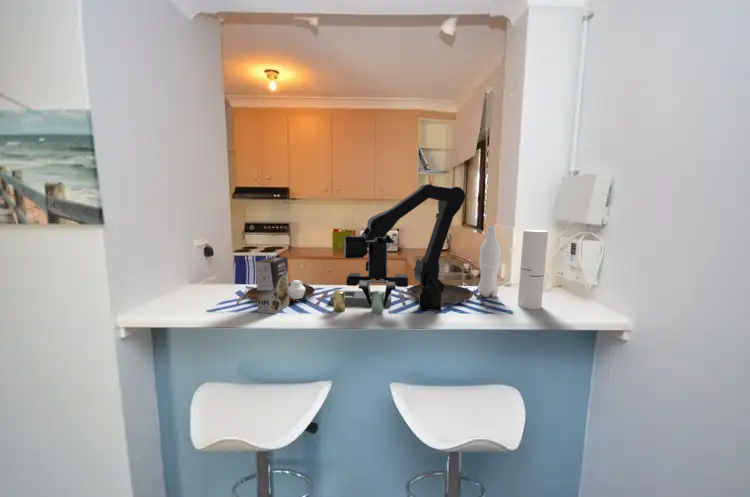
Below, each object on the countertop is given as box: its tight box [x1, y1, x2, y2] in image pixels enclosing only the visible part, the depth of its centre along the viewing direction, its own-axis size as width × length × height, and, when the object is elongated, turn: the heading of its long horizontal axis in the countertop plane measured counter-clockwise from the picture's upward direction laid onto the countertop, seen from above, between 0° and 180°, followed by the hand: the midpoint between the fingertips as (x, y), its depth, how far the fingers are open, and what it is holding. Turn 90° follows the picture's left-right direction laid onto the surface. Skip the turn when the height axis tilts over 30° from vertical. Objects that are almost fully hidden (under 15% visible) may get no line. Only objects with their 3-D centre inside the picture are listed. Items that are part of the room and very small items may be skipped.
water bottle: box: [477, 226, 502, 298], centre depth 115 cm, size 7×7×25 cm
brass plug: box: [333, 289, 346, 313], centre depth 101 cm, size 4×4×6 cm
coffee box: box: [255, 256, 290, 315], centre depth 101 cm, size 9×6×16 cm
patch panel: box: [329, 290, 392, 307], centre depth 109 cm, size 20×8×3 cm, turn 85°
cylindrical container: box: [517, 229, 549, 310], centre depth 105 cm, size 7×7×25 cm
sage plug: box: [371, 290, 384, 314], centre depth 100 cm, size 4×4×6 cm
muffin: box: [289, 279, 306, 299], centre depth 111 cm, size 6×6×7 cm
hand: (377, 306), depth 101 cm, fingers open, 4 cm apart
